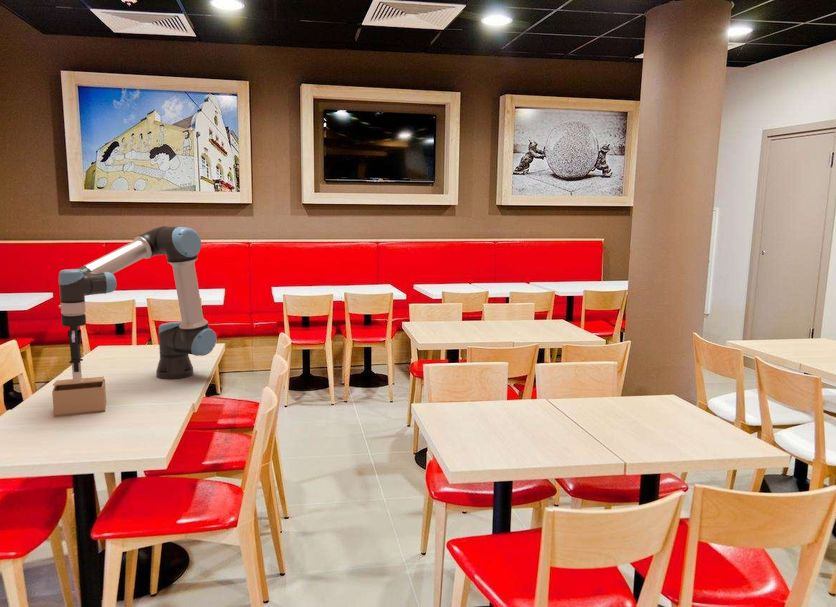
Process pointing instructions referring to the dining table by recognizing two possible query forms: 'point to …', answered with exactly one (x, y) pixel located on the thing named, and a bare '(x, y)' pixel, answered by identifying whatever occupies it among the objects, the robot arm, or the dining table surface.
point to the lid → (84, 380)
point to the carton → (79, 398)
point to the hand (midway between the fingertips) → (77, 380)
